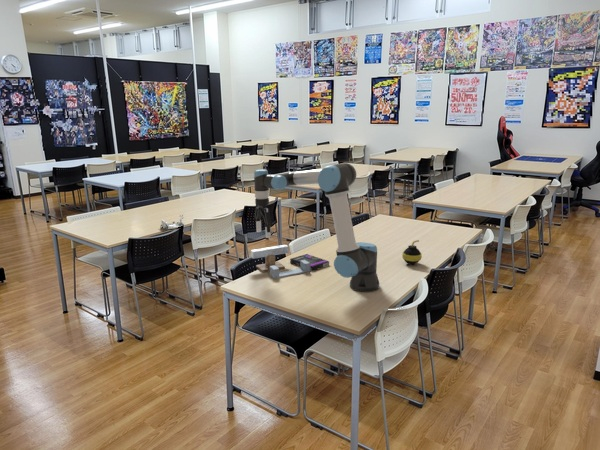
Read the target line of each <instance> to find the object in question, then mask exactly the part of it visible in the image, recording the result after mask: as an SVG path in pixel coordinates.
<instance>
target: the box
mask: <svg viewBox="0 0 600 450" xmlns="http://www.w3.org/2000/svg"><path fill="white" fill-rule="evenodd" d="M301 260H306V261H308V262H309V263H310V272H315V271H317V270H320V269H322V268H325V267H329V266H330V261H329V260H327V259H323V258H320V257H317V256H314V255H311V254H309V253H306V254H303V255H299V256H296V257H292V258H290V259H289V264H293V265H294V266H295V265H296V266H297V265H298V267H300V261H301Z"/></svg>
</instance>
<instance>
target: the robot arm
mask: <svg viewBox="0 0 600 450" xmlns="http://www.w3.org/2000/svg"><path fill="white" fill-rule="evenodd" d="M253 174H254V175H253V178H254V179H253V181H254V198H255V199H254V200H255V201H254V202H255V210H254V211H255V212H254V216H253V217H254V220H255V224H256V225H255V227H256V233H262V218H263V220H264V221H263V222H264V223H265V225H264V227H265V228H264V231H265V239H270V238H272V236H271V234H272V233H271V232H272V231H271V227H272V226H273V222H272V218H271V217H272V216H271V212H270V208H268V207H267V206H268V205H269V204H270V198H269V193H270V191H269V189H271V190H277V191H278V190H279V191H280V190H281V191H282V190H283V189H285V188H287V187H291V186H292V187H294V186H302V185H303V186H304V185H306V186H307V185H318V186H319V188H320V189H321V190H322V191H323V192H324V195H325V197H326V198H328V200H329V206H330V209H331V214H332V220H333V226H334V231H335V235H336V240H337V248H336V250H335V253H336V257H335V258H334V261H333V268H334V269H335V272H336V273H337V274H338V275H340V276H341V277H343V278H346V279H348V278H350V280H349V287H350V289H352V290H354V291H356V292H362V293H370V292H372V293H373V292H375V291H377V290H379V289H380V280H379V277H378V274H377V263H378V260H377V259H378V247H377V245H376V244H374V243H371V242H365V241H364V242H363V241H362V242H356V237H355V232H354V226H353V221H352V215H351V209H350V205H349V204H350V203H349V199H348V193H350V188H349V187H350V186H351V185H353V184H354V183H355V181H356V179H357V170H356V168H355V167H354V166H353V165H352V164H350V163H347V162H342V163H335V164H330V165H327V166H324V167H322V168H318V169H309V170H299V171H296V170H295V171H287V172H283V173H277V174H271V173H270V174H269V171H268V169H256V170H255V171H254V173H253Z"/></svg>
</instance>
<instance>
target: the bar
mask: <svg viewBox="0 0 600 450" xmlns="http://www.w3.org/2000/svg"><path fill="white" fill-rule="evenodd" d="M289 250H290V249H289V245H287V244H282V245H281V244H280V245H274V246H269V247H262V248H256V249H251V250H250V258H252V259H260V258H265V257H267V256H273V255H274V256H277V255H284V254H289V253H290V252H289Z"/></svg>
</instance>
